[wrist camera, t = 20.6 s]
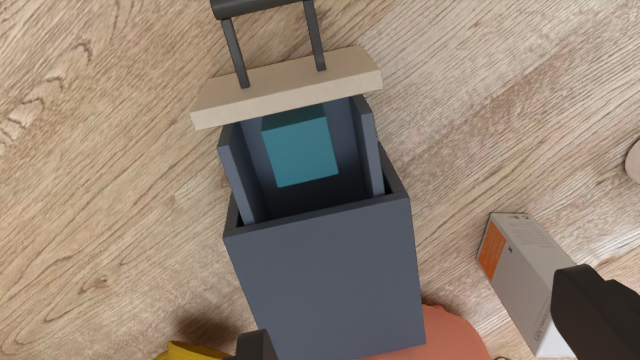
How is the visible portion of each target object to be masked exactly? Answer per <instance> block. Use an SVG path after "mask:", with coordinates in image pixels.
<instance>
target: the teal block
mask: <svg viewBox="0 0 640 360" xmlns="http://www.w3.org/2000/svg"><path fill="white" fill-rule="evenodd" d="M261 135H262V138H263V141H264V144H265V148H266V151H267V154H268V157H269V160H270V164H271V167H272V170H273V173H274V177H275V180H276V183H277V186H278V188H280V187H284V186H289V185H293V184H297V183H301V182H306V181H310V180H314V179H319V178H323V177H327V176H331V175H336V174H339V172H338V168H337V163H336V159H335V154H334V150H333V145H332V141H331V136H330V132H329V127H328V123H327V118H326V114H325V111H324V107H323V104H322V103H318V104H313V105H309V106H304V107H300V108H295V109H291V110H287V111H282V112H278V113H273V114H269V115H265V116H262V125H261Z"/></svg>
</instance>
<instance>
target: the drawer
mask: <svg viewBox="0 0 640 360" xmlns="http://www.w3.org/2000/svg"><path fill="white" fill-rule="evenodd" d="M300 1H303V6H304V11H305V16H306V20H307V25H308V30H309V35H310V40H311V44H312V49H313V54H314V55H311V56H306V57H302V58H298V59H293V60H289V61H285V62H280V63H276V64H272V65H267V66H263V67H258V68H254V69H250V70H246V67H245V64H244V61H243V57H242V54H241V50H240V47H239V43H238V40H237V36H236V33H235V30H234V26H233V23H232V19H231V17H236V16H240V15H244V14H249V13H253V12H257V11H261V10H266V9H270V8H274V7H279V6H283V5H287V4H292V3H296V2H300ZM210 4H211V8H212V11H213V14H214V16H215V18H216V20H221V25H222V28H223V31H224V34H225V38H226V41H227V44H228V48H229V51H230V54H231V57H232V61H233V64H234V67H235V71H236V73H232V74H228V75H223V76H219V77H215V78H210V79H207V81H206V82H205V84H204V86H203V88H202V90H201V92H200V93H199V95H198V97H197V99H196V101H195V103H194V104H193V106H192V108H191V110H190V112H189V115H190V118H191V121H192V123H193V126H194V128H195V131H198V130H203V129H207V128H211V127H216V126H220V125H223V129H222V132H221V135H220V138H219V142H218V145H217V150H218V153H219V156H220V159H221V161H222V164H223V167H224V170H225V173H226V175H227V178H228V181H229V184H230V186H231V189H232V192H233V195H234V198H235V200H236V203H237V206H238V209H239V211H240V214H241V217H242V220H243V223H244V225H245V226H248V225H253V224H257V223H262V222H267V221H271V220H276V219H280V218H285V217H289V216H294V215H298V214H303V213H307V212H312V211H316V210H321V209H325V208H330V207H335V206H339V205H344V204H348V203H353V202H357V201H362V200H366V199H371V198H375V197H380V196H384V195H385V190H384V183H383V176H382V170H381V163H380V156H379V150H378V143H377V136H376V129H375V123H374V116H373V112H372V110H371V109H370V107H369V105H368V103H367V102H366V100H365V98H364V96H363V95H362V93H366V92H371V91H375V90H380V89H383V80H382V73H381V69H380V68H379V67H378V66H377V64H376V63H375V62H374V61H373V60H372V59H371V57H370V56H369V55H368V54H367V53H366V51H365V50H364V49H363V48H362V47H361V46H360V45H355V46H350V47H346V48H341V49H337V50H333V51H328V52H324V53H323V49H322V44H321V39H320V34H319V29H318V23H317V18H316V13H315V8H314V3H313V0H210ZM318 103H322V104H323V107H324V111H325V114H326V118H327V123H328V127H329V132H330V136H331V141H332V145H333V150H334V154H335V159H336V163H337V168H338V172H339V174H336V175H331V176H327V177H323V178H319V179H314V180H310V181H306V182H301V183H297V184H293V185H289V186H284V187H280V188H278V186H277V183H276V180H275V177H274V173H273V170H272V167H271V164H270V160H269V157H268V154H267V151H266V148H265V144H264V141H263V138H262V135H261V125H262V116H265V115H269V114H273V113H278V112H282V111H287V110H291V109H295V108H300V107H304V106H309V105H313V104H318Z"/></svg>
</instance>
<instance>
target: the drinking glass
mask: <svg viewBox="0 0 640 360" xmlns="http://www.w3.org/2000/svg"><path fill="white" fill-rule="evenodd" d="M625 170H626V173H627V175H628V176H629V177H630V178H631V179H632V180H633V181H635V182H636V183H638V184H639V185H640V140H639V141H638V142H636V143H635V144H634V146H633V147H632V148H631V149H630V151H629V153H628V155H627V157H626V161H625Z"/></svg>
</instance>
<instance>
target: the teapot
mask: <svg viewBox="0 0 640 360" xmlns="http://www.w3.org/2000/svg"><path fill="white" fill-rule="evenodd" d="M422 309H423V318H424V327H425V336H426V344H425V345H420V346H416V347H411V348H406V349H402V350H397V351H392V352H387V353H383V354H378V355H373V356H369V357H364V358H359V359H355V360H491V358H490V356H489V353H488V351H487V349H486V347H485V345H484V343H483V341H482V339H481V337H480V335H479V334H478V333H477V331H476V330H475V329H474V328H473V326H472V325H471V324H470V323H469V322H468V321H467V320H465V319H463V318H461V317H458V316H456V315H453V314H451V313H448V312H445V310H444V308H443V307H441V306H437V305H434V306H427V305H424V304H422Z"/></svg>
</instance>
